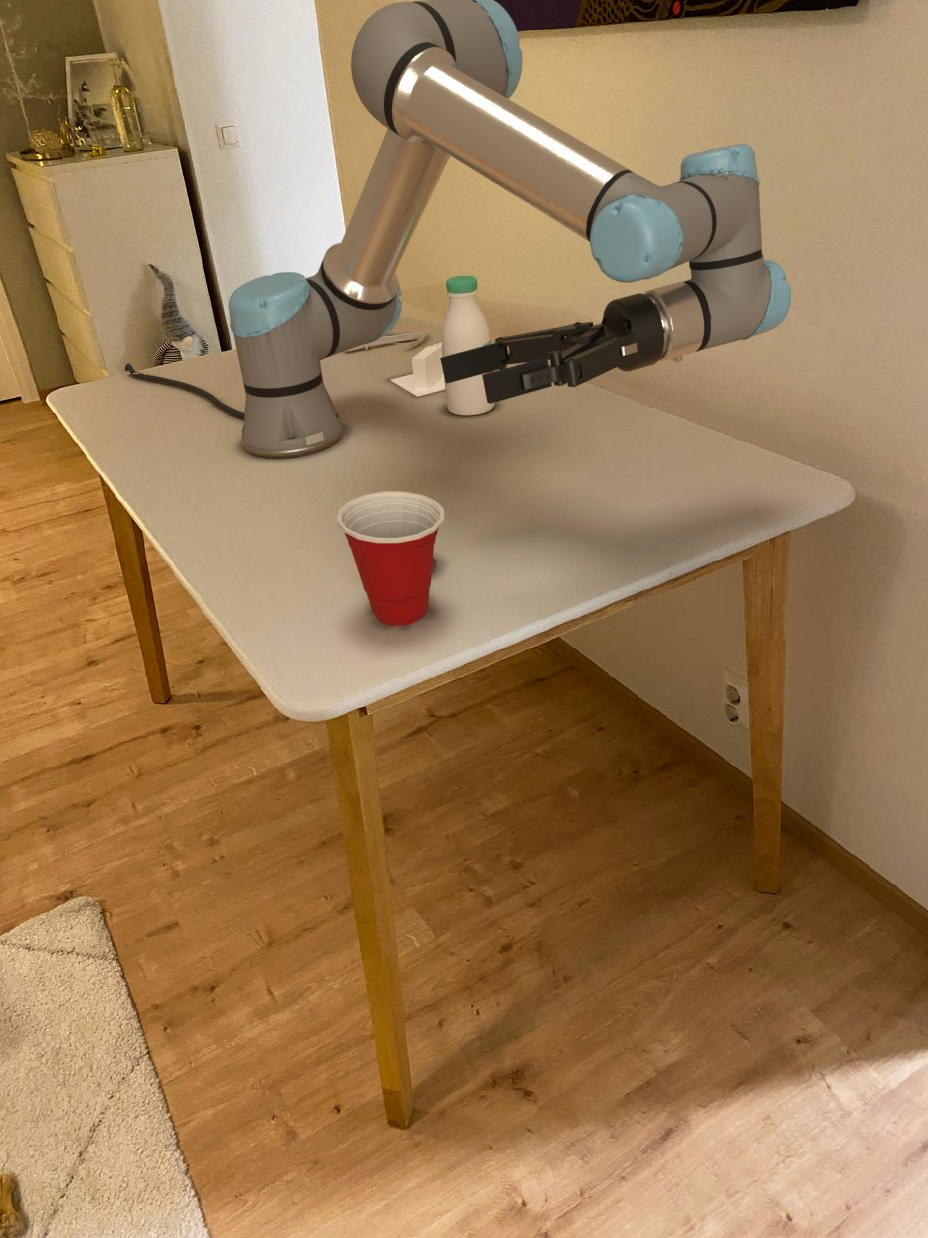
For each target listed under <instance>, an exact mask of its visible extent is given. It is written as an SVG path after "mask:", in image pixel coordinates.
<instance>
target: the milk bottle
mask: <svg viewBox="0 0 928 1238" xmlns="http://www.w3.org/2000/svg"><path fill="white" fill-rule="evenodd" d="M445 285H446V291H447V292H446V296H448V306H447V310H446V314H445V317H444V320H443V323H442V327H441V335H440V337H441V338H440V339H441V341H440V342H441V343H442V357H445V356H449V355H452V354H456V353H460V352H464V351H467V350H471V349H475V348H479V347H482V346H486V345H490V344H492V338H491V330H490V327H489V324H488V322H487V319H486V317H485V315H484V313H483V311H482V308H481V307H480V305H479V302H478V298H477V294H478V279H477V277H475V276H473V275H458V276H452V277H449V278H448V279H446V283H445ZM491 372H494V371H491ZM491 372H488V373H491ZM484 374H487V373H484ZM482 375H483V374H480V375H477V376H473V377H470V378H466V379H462V380H459V381H455V382H451V383H448V384H447V383H445V390H444V391H445V393H444V394H445V401H446V408H447V410H448V411H449V412H450V413H451V414H454V415H458V416H476V415H481V414H485V413H487V412H490V411H491V410H492V409H494V407H495V404H496V402H495V403H491V404H489V403H487V398H486V393H485V388H484V382H483V377H482ZM444 382H445V379H444Z"/></svg>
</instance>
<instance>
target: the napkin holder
mask: <svg viewBox="0 0 928 1238" xmlns="http://www.w3.org/2000/svg"><path fill="white" fill-rule="evenodd" d="M441 357H442V343H441V341H439V342H438V343H434V344H433V345H428V346H426V347H424V348H423V349H422V350H421V351H419V352H418V353H417V354H416V355H414V356H413V357H411V365H412V373H411V374H408V375H404V376H399V377H395V378H391V379H390V381H391V382H392V383H394V384H395V385H397V386H398V387H401V388H402V389H403V390H405V391H407V392H409V393H410V394H412V395H414V396H415V397H417V398H418V397H422V396H425V395H430V394H435V393H437V392H441V391H445V382H444V374H443V369H442V364H441V359H440V358H441Z"/></svg>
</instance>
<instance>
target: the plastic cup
mask: <svg viewBox="0 0 928 1238" xmlns="http://www.w3.org/2000/svg"><path fill="white" fill-rule="evenodd" d="M336 516H337V517H336V521H337V524H338V525H339V527H340V528H341V529H342V531H343V533H344V536H345V538H346V540H347V544H348V546H349V548H350V550H351V553H352V556H353V560H354V563H355V566H356V569H357V571H358V575H359V578H360V581H361V584H362V587H363V590H364V591H365V594H366V596H367V599H368V601H369V605H370V608H371V611H372V613H373V615H374V616H375V618H376V619H377V621H378V622H380V623H381V624H384V625H387V626H393V627H399V626H407V625H412V624H414V623H417V622H418V621H420V620H422V619H423V618H424V617H425V616H426V615H427V614H428V609H429V606H430V605H429V604H430V589H431V585H432V577H433V576H432V575H433V573H432V564H433V558H434V554H435V553H434V551H435V544H436V539H437V535H438V532H439V529H440V526H441V525H442V524H443V522H444V519H445V509H444V507H442V505H441V504H439V502H438V501H437V500H435V499H433V498H431V497H428V496H426V495H424V494H421V493H415V492H410V491H404V490H403V491H401V490H399V491H398V490H396V491H395V490H394V491H393V490H392V491H388V490H387V491H386V490H384V491H378V492H372V493H367V494H363V495H360V496H358V497H355V498H352V499H351V500H348V501H347V502H346V503H345V504H344V505H342V507H340V508H339V509H338V512H337V515H336Z"/></svg>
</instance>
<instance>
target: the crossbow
mask: <svg viewBox="0 0 928 1238" xmlns="http://www.w3.org/2000/svg"><path fill="white" fill-rule="evenodd" d="M388 334H391V335H385V336H382V337H381V338H379V339H378V340H376V341H374V342H372V343H369V344H363V345H361V346H358V347H355V348H352V349H349V350H346V351H345V352H350V351H354V350H359V349H362V348H364V349H365V350H367V351H368V348H370V346H374V345H382V344H391V343H394V344H396V345H398V344H399V345H402V342H404V341H411V340H412V341H413V340H414V341H413V342H411V343H405V345H407V349H408V350H410V349H412V348H414V347H416V346H418V345H420V344H421V343H423V342H425V340H426V333H424V331H423V332H422V331H416V330H408V329H394V328H393V329H392V330H391V331H390V332H389V333H388ZM392 334H393V335H392ZM400 342H401V343H400Z"/></svg>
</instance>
